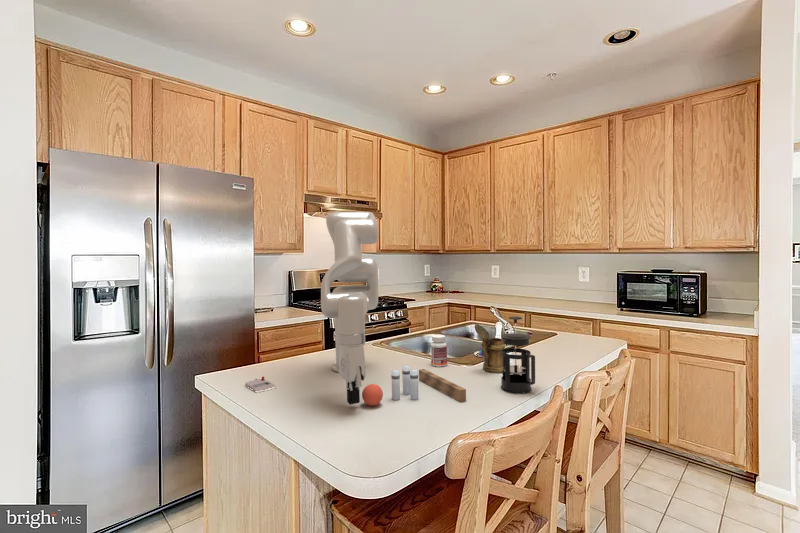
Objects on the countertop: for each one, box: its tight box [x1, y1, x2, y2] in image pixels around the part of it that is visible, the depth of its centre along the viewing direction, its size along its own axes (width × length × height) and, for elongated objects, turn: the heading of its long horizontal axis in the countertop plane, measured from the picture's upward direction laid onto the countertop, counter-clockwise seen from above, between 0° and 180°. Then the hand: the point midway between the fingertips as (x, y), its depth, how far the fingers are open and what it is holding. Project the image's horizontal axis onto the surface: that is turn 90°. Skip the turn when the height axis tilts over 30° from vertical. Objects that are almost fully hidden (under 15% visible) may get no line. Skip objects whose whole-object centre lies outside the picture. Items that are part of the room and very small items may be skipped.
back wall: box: [418, 368, 467, 403], centre depth 129 cm, size 24×2×4 cm, turn 27°
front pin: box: [390, 369, 401, 401], centre depth 122 cm, size 2×2×8 cm
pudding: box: [473, 343, 484, 358], centre depth 171 cm, size 12×12×5 cm
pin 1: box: [401, 364, 411, 396], centre depth 126 cm, size 2×2×8 cm
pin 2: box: [409, 368, 419, 401], centre depth 122 cm, size 2×2×8 cm
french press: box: [500, 315, 536, 395], centre depth 128 cm, size 12×9×23 cm
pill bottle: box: [430, 334, 448, 368], centre depth 157 cm, size 6×6×11 cm
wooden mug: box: [474, 323, 506, 374], centre depth 149 cm, size 9×14×18 cm, turn 121°
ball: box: [361, 383, 384, 407], centre depth 117 cm, size 6×6×6 cm
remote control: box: [244, 376, 276, 392], centre depth 136 cm, size 7×16×3 cm, turn 41°
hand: (353, 402), depth 116 cm, fingers closed
